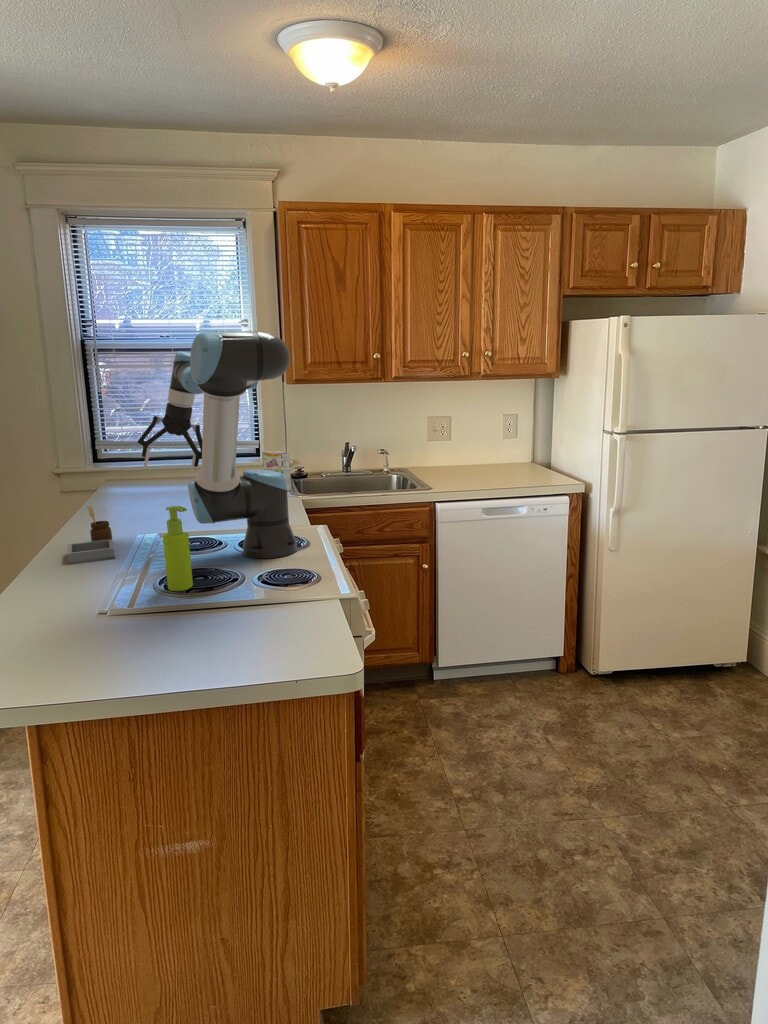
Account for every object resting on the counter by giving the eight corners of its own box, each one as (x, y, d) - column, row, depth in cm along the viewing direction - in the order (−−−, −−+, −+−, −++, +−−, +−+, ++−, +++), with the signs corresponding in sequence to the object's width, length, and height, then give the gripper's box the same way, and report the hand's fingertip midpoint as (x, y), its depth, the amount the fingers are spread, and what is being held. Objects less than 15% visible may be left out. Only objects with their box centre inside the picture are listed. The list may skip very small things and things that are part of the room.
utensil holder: (103, 548, 211) (98, 508, 209) (86, 546, 214) (81, 508, 211) (117, 543, 217) (112, 504, 214) (100, 541, 219) (96, 504, 217)
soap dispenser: (182, 593, 167) (174, 510, 162) (162, 589, 170) (154, 507, 166) (201, 586, 171) (193, 505, 167) (181, 582, 175) (173, 503, 171)
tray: (114, 558, 199) (113, 548, 199) (68, 564, 195) (67, 553, 194) (113, 548, 210) (112, 539, 209) (69, 554, 206) (68, 544, 205)
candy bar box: (263, 490, 298) (261, 452, 295) (271, 488, 302) (269, 450, 299) (284, 492, 292) (281, 453, 289) (292, 490, 296) (289, 451, 293)
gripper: (222, 411, 219) (209, 476, 224) (138, 393, 212) (127, 461, 218) (221, 415, 212) (209, 482, 217) (135, 397, 205) (124, 466, 210)
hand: (168, 472), depth 217 cm, fingers open, 13 cm apart
